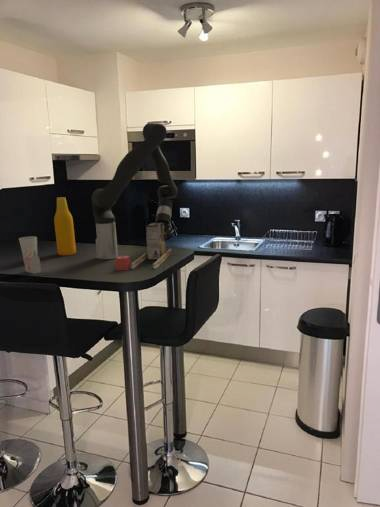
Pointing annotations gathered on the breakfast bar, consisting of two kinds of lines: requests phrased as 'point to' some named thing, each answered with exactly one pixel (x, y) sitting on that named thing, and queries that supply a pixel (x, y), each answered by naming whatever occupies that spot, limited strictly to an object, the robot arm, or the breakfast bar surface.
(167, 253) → the game track
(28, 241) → the cup
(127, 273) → the breakfast bar surface
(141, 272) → the breakfast bar surface
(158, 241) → the coffee box
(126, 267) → the red die
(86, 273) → the breakfast bar surface
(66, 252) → the beer bottle
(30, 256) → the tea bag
